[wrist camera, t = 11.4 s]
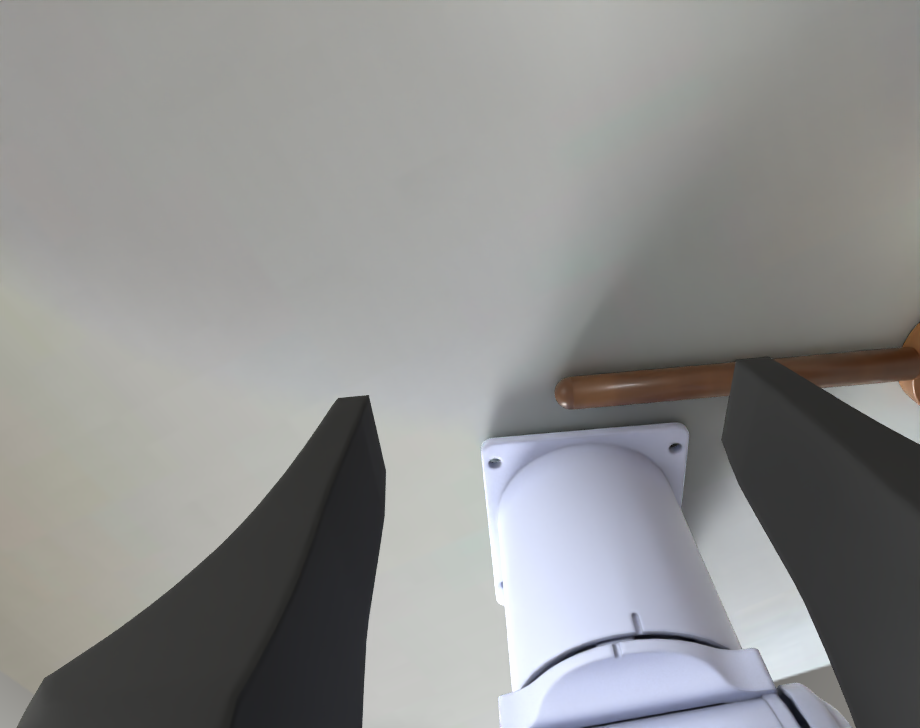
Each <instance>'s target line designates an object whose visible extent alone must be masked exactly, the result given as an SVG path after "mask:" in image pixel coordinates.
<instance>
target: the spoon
mask: <svg viewBox="0 0 920 728" xmlns="http://www.w3.org/2000/svg"><path fill="white" fill-rule="evenodd" d="M773 360H775V361H777V362H778V363H780V364H782V365H784V366H785V367H787V368H789V369H790V370H792V371H794V372H795V373H797V374H799V375H800V376H802V377H804V378H805V379H807V380H809V381H810V382H812V383H813V384H815V385H817V386H818V387H820V388H827V387H838V386H850V385H862V384H873V383H885V382H896V381H899V383H900V385H901V387H902V389H903V390H904V392H905V393H906V394H907V395H908V396H909V397H910V398H911V399H913V400H914V401H915V402H916V403H917V404H918V405H919V406H920V322H919V323H918V324H917V326H916V327H915V328H914V329H913V330H912V332H911V333H910V334H909V336H908V337H907V339H906V341H905V342H904V344H903V346H902V347H899V348H887V349H876V350H865V351H854V352H842V353H831V354H820V355H809V356H797V357H786V358H775V359H773ZM734 368H735V362H730V363H719V364H707V365H696V366H685V367H674V368H662V369H651V370H640V371H629V372H617V373H606V374H595V375H584V376H572V377H566V378H564V379H562V380H561V381H560V382H559V383H558V384H557V385H556V388H555V398H556V401H557V402H558V404H559V405H560V406H562V407H563V408H566V409H584V408H596V407H607V406H619V405H631V404H642V403H654V402H665V401H677V400H688V399H700V398H711V397H723V396H729V395H730V390H731V384H732V379H733V373H734Z"/></svg>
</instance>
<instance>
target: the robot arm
mask: <svg viewBox="0 0 920 728" xmlns="http://www.w3.org/2000/svg"><path fill="white" fill-rule="evenodd" d="M721 440H722V443H723V445H724V448H725V451H726V453H727V456H728V459H729V462H730V464H731V467H732V469H733V472H734V474H735V476H736V479H737V481H738V484H739V486H740V488H741V489H742V491H743V493H744V495H745V497H746V499H747V500H748V502H749V504H750V506H751V507H752V509H753V511H754V513H755V515H756V516H757V518H758V520H759V522H760V524H761V525H762V527H763V529H764V531H765V532H766V534H767V536H768V538H769V539H770V541H771V543H772V545H773V546H774V548H775V550H776V552H777V553H778V555H779V557H780V559H781V560H782V562H783V564H784V566H785V567H786V569H787V571H788V573H789V574H790V576H791V578H792V580H793V581H794V583H795V585H796V587H797V589H798V591H799V593H800V595H801V597H802V599H803V601H804V603H805V605H806V607H807V609H808V612H809V614H810V616H811V619H812V621H813V623H814V626H815V628H816V630H817V632H818V635H819V637H820V639H821V642H822V644H823V646H824V648H825V651H826V653H827V655H828V658H829V660H830V663H831V665H832V668H833V670H834V673H835V675H836V677H837V680H838V682H839V685H840V687H841V690H842V692H843V695H844V697H845V699H846V702H847V705H848V707H849V710H850V713H851V715H852V718H853V721H854V723H855V726H856V728H920V444H918V443H916V442H914V441H912V440H910V439H908V438H906V437H904V436H903V435H901V434H899V433H897V432H895V431H893V430H891V429H890V428H888V427H886V426H884V425H882V424H881V423H879V422H877V421H875V420H874V419H872V418H870V417H868V416H867V415H865V414H863V413H861V412H860V411H858V410H856V409H855V408H853V407H851V406H850V405H848V404H846V403H845V402H843V401H841V400H840V399H838V398H836V397H835V396H833V395H831V394H830V393H828V392H826V391H825V390H823V389H822V388H820V387H818V386H817V385H815V384H813V383H812V382H810V381H809V380H807V379H805V378H804V377H802V376H800V375H799V374H797V373H795V372H794V371H792V370H790V369H789V368H787V367H785V366H784V365H782V364H780V363H778V362H777V361H775V360H773V359H771V358H769V357H761V358H750V359H740V360H736V362H735V368H734V373H733V379H732V384H731V390H730V395H729V401H728V406H727V412H726V417H725V423H724V428H723V434H722V439H721ZM674 443H679V444H678V445H677V446H676V447H670V446H671V445H672V444H674ZM688 444H689V432H688V430H687V428H686V427H685V425H684V424H682V423H678V422H672V423H660V424H649V425H637V426H625V427H613V428H602V429H590V430H578V431H566V432H555V433H543V434H531V435H519V436H508V437H496V438H490V439H487V440H486V441H484V442H483V444H482V445H481V456H482V466H483V475H484V485H485V494H486V504H487V514H488V523H489V533H490V542H491V552H492V561H493V571H494V580H495V590H496V599H497V602H498V603H500V604H502V605H505V611H506V623H507V635H508V647H509V659H510V670H511V682H512V693H508V694H504V695H501V696H499V698H498V702H499V718H500V728H852V727H851V726H850V724H849V723H848V722H847V720H846V719H845V718H844V717H843V716H842V714H841V713H840V712H839V711H837V710H836V709H835V708H834V707H833V706H832V705H830V704H828V703H827V702H825V701H824V700H822V699H821V698H819V697H817V696H816V694H815V693H813V692H812V691H811V690H810V689H809V688H807V687H806V686H804V685H802V684H800V683H791V684H786V685H779V686H778V688H777V689H776V687H775V685H774V683H773V680H772V678H771V676H770V674H769V672H768V670H767V667H766V665H765V663H764V661H763V659H762V657H761V655H760V652H759V650H758V649H755V648H749V649H742V647H741V645H740V643H739V640H738V638H737V636H736V634H735V631H734V629H733V627H732V625H731V622H730V620H729V618H728V616H727V613H726V611H725V609H724V606H723V604H722V602H721V600H720V597H719V595H718V593H717V591H716V588H715V586H714V584H713V582H712V579H711V577H710V575H709V572H708V570H707V568H706V566H705V563H704V561H703V559H702V557H701V554H700V552H699V550H698V548H697V545H696V543H695V541H694V538H693V536H692V534H691V532H690V529H689V527H688V525H687V523H686V520H685V518H684V516H683V514H682V511H681V508H682V499H683V490H684V481H685V472H686V462H687V453H688ZM494 458H497V459H499V461H498V462H491V461H490V460H491V459H494ZM385 486H386V469H385V465H384V460H383V456H382V452H381V447H380V443H379V438H378V434H377V430H376V425H375V421H374V416H373V412H372V408H371V403H370V399H369V395H366V396H355V397H345V398H338V399H337V400H336V401H335V403H334V404H333V405H332V407H331V408H330V410H329V411H328V413H327V414H326V416H325V417H324V419H323V420H322V422H321V423H320V425H319V426H318V428H317V429H316V431H315V432H314V433H313V435H312V436H311V438H310V439H309V441H308V442H307V444H306V445H305V446H304V448H303V449H302V450H301V452H300V453H299V454H298V456H297V457H296V459H295V460H294V461H293V463H292V464H291V465H290V467H289V468H288V469H287V471H286V472H285V473H284V475H283V476H282V477H281V478H280V480H279V481H278V482H277V483H276V484H275V486H274V487H273V488H272V489H271V490H270V492H269V493H268V494H267V495H266V496H265V498H264V499H263V500H262V501H261V503H260V504H259V505H258V506H257V507H256V508H255V509H254V511H253V512H252V513H251V514H250V515H249V516H248V517H247V518H246V519H245V521H244V522H243V523H242V524H241V525H240V526H239V527H238V528H237V529H236V530H235V531H234V532H233V533H232V534H231V535H230V536H229V537H228V538H227V539H226V540H225V541H224V542H223V543H222V544H221V545H220V546H219V547H218V548H217V549H216V550H215V551H214V552H213V553H211V554H210V555H209V556H208V557H207V558H206V559H205V560H204V561H202V562H201V563H200V564H199V565H198V566H197V567H196V568H194V569H193V570H192V571H191V572H190V573H189V574H188V575H187V576H185V577H184V578H183V579H182V580H181V581H180V582H179V583H177V584H176V585H175V586H174V587H173V588H171V589H170V590H169V591H168V592H166V593H165V594H164V595H163V596H161V597H160V598H159V599H158V600H156V601H155V602H154V603H153V604H151V605H150V606H149V607H147V608H146V609H145V610H143V611H142V612H141V613H139V614H138V615H137V616H135V617H134V618H133V619H131V620H130V621H129V622H127V623H126V624H125V625H123V626H122V627H121V628H119V629H118V630H116V631H115V632H113V633H112V634H111V635H109V636H108V637H106V638H105V639H103V640H102V641H100V642H99V643H97V644H96V645H94V646H93V647H91V648H90V649H88V650H87V651H85V652H84V653H82V654H81V655H79V656H78V657H76V658H75V659H73V660H72V661H70V662H69V663H67V664H66V665H64V666H63V667H61V668H60V669H58V670H57V671H55V672H54V673H52V674H50V675H49V676H47V677H46V678H44V680H43V681H42V683H41V685H40V686H39V688H38V690H37V691H36V693H35V695H34V697H33V698H32V700H31V702H30V704H29V705H28V707H27V709H26V711H25V712H24V714H23V716H22V718H21V720H20V722H19V724H18V726H17V728H362V718H363V694H364V674H365V656H366V639H367V630H368V621H369V614H370V607H371V601H372V595H373V588H374V582H375V575H376V569H377V563H378V556H379V550H380V543H381V537H382V530H383V523H384V516H385Z"/></svg>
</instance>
